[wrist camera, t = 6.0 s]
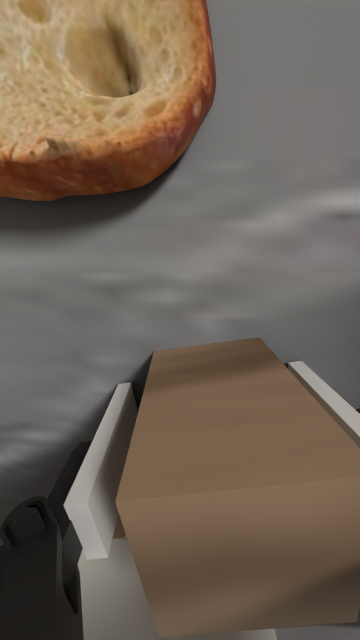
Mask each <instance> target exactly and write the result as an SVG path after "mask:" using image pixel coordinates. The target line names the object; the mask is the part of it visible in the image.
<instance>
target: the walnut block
mask: <svg viewBox="0 0 360 640" xmlns="http://www.w3.org/2000/svg"><path fill="white" fill-rule="evenodd" d="M115 503H116V506H117V509H118V512H119V515H120V518H121V521H122V524H123V527H124V530H125V533H126V536H127V540H128V543H129V546H130V549H131V552H132V555H133V558H134V561H135V564H136V567H137V570H138V573H139V576H140V580H141V583H142V586H143V589H144V592H145V595H146V598H147V601H148V604H149V607H150V610H151V613H152V617H153V620H154V623H155V626H156V629H157V632H158V635H159V637H170V636H184V635H197V634H210V633H223V632H236V631H249V630H262V629H275V628H288V627H301V626H314V625H327V624H341V623H354V622H357V620H358V614H359V609H360V448H359V447H358V446H357V445H356V443H355V442H354V441H353V440H352V439H351V438H350V437H349V436H348V435H347V434H346V432H345V431H344V430H343V429H342V428H341V427H340V426H339V425H338V424H337V423H336V421H335V420H334V419H333V418H332V417H331V416H330V415H329V414H328V413H327V412H326V410H325V409H324V408H323V407H322V406H321V405H320V404H319V403H318V402H317V401H316V399H315V398H314V397H313V396H312V395H311V394H310V393H309V392H308V391H307V390H306V388H305V387H304V386H303V385H302V384H301V383H300V382H299V381H298V380H297V378H296V377H295V376H294V375H293V374H292V373H291V372H290V371H289V370H288V369H287V367H286V366H285V365H284V364H283V363H282V362H281V361H280V360H279V359H278V358H277V356H276V355H275V354H274V353H273V352H272V351H271V350H270V349H269V348H268V347H267V345H266V344H265V343H264V342H263V341H262V340H261V339H260V338H251V339H244V340H236V341H229V342H221V343H213V344H206V345H198V346H190V347H183V348H175V349H167V350H160V351H154V353H153V357H152V360H151V364H150V368H149V372H148V376H147V380H146V384H145V388H144V392H143V396H142V399H141V403H140V407H139V411H138V415H137V419H136V423H135V427H134V431H133V435H132V439H131V442H130V446H129V450H128V454H127V458H126V462H125V466H124V470H123V474H122V478H121V481H120V485H119V489H118V493H117V497H116V501H115Z"/></svg>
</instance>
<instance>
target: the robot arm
mask: <svg viewBox="0 0 360 640" xmlns="http://www.w3.org/2000/svg"><path fill="white" fill-rule="evenodd" d="M288 370H289V371H290V372H291V373H292V374H293V375H294V376H295V377H296V378H297V380H298V381H299V382H300V383H301V384H302V385H303V386H304V387H305V388H306V390H307V391H308V392H309V393H310V394H311V395H312V396H313V397H314V398H315V399H316V401H317V402H318V403H319V404H320V405H321V406H322V407H323V408H324V409H325V410H326V412H327V413H328V414H329V415H330V416H331V417H332V418H333V419H334V420H335V421H336V423H337V424H338V425H339V426H340V427H341V428H342V429H343V430H344V431H345V432H346V434H347V435H348V436H349V437H350V438H351V439H352V440H353V441H354V442H355V443H356V445H357V446H358V447H359V448H360V409H354V408H353V407H352V406H350V405H349V404H348V403H347V402H346V401H345V400H344V399H343V398H342V397H341V396H339V395H338V394H337V393H336V392H335V391H334V390H333V389H332V388H331V387H330V386H328V385H327V384H326V383H325V382H324V381H323V380H322V379H321V378H320V377H319V376H317V375H316V374H315V373H314V372H313V371H312V370H311V369H310V368H309V367H308V366H306V365H305V364H304V363H303V362H302V361H297V362H289V363H288ZM137 415H138V410H137V406H136V402H135V398H134V393H133V389H132V385H131V383H123V384H118V386H117V388H116V390H115V393H114V395H113V397H112V399H111V401H110V404H109V406H108V408H107V410H106V412H105V415H104V417H103V419H102V421H101V423H100V426H99V428H98V430H97V432H96V434H95V437H94V439H93V441H88V442H81V443H80V444H79V446H78V447H77V448H76V449H75V450H74V451H73V452H72V454H71V456H70V457H69V459H68V461H67V463H66V466H65V467H64V469H63V471H62V473H61V475H60V476H59V478H58V480H57V482H56V484H55V486H54V488H53V490H52V491H51V493H50V495H49V497H48V499H46V498H45V497H44V496H36V497H33V498H30V499H28V500H26V501H25V502H23V503H21V504H20V505H18V506H17V507H16V508H15V509H14V510H13V511H12V512H11V513H10V514H9V515H8V517H7V518H6V519H5V521H4V522H3V523H2V526H1V528H0V537H1V539H2V541H3V542H4V545H2V546H0V640H84V637H83V619H82V601H81V584H80V572H79V568H78V562H79V559H80V555H81V552H82V550H83V552H84V555H85V557H86V559H87V560H90V559H100V558H108V555H109V551H110V547H111V542H112V538H113V534H114V529H115V525H116V521H117V516H118V509H117V506H116V503H115V501H116V497H117V493H118V489H119V485H120V481H121V478H122V474H123V470H124V466H125V462H126V458H127V454H128V450H129V446H130V442H131V439H132V435H133V431H134V427H135V423H136V419H137Z"/></svg>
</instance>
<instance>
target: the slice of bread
mask: <svg viewBox="0 0 360 640" xmlns="http://www.w3.org/2000/svg"><path fill="white" fill-rule="evenodd" d="M215 88H216V71H215V62H214V54H213V46H212V37H211V30H210V23H209V16H208V10H207V4H206V0H0V197H8V198H17V199H23V200H31V201H53V200H57V199H60V198H62V197H65V196H74V195H98V194H106V193H114V192H120V191H125V190H130V189H134V188H137V187H140V186H143V185H146V184H148V183H149V182H151V181H152V180H153V179H155V178H156V177H158V176H159V175H161V174H162V173H163V172H164V171H166V170H167V169H168V168H169V167H170V166H171V165H172V164H173V163H174V162H175V161H176V160H177V159H178V158H179V157H180V156H181V155H182V154H183V153H184V152H185V150H186V149H187V148H188V146H189V145H190V143H191V141H192V139H193V138H194V136H195V134H196V132H197V130H198V128H199V127H200V125H201V123H202V121H203V119H204V118H205V116H206V115H207V113H208V112H209V110H210V108H211V106H212V104H213V100H214V96H215Z"/></svg>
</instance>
